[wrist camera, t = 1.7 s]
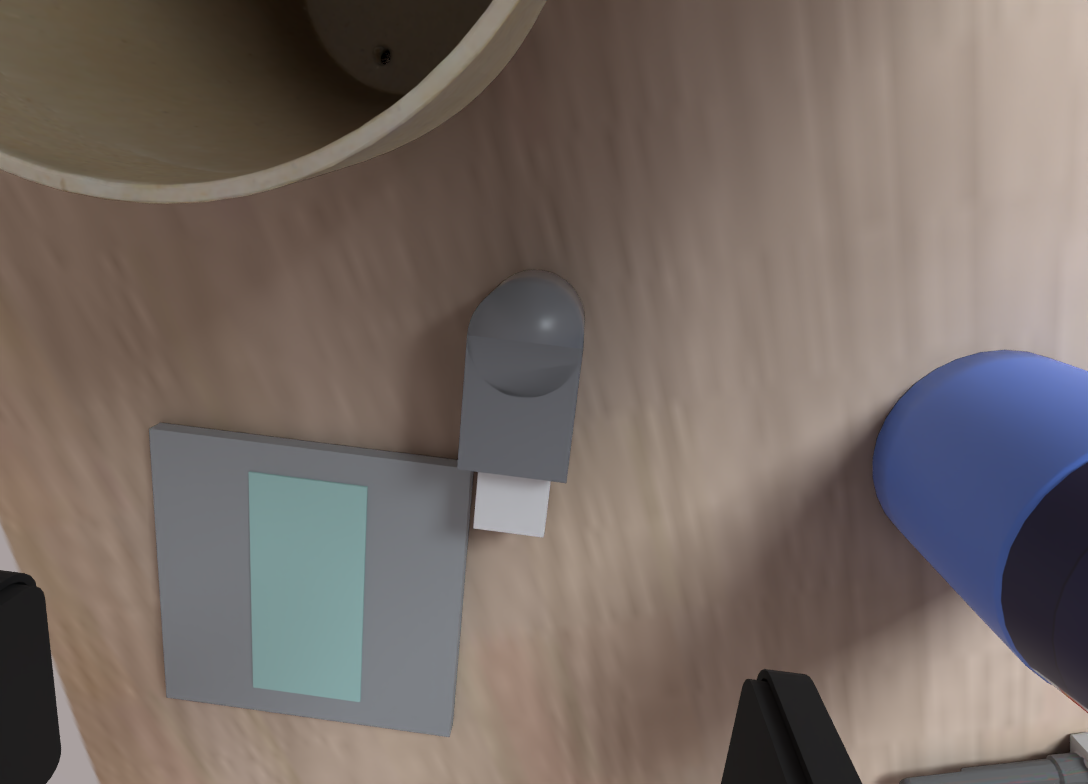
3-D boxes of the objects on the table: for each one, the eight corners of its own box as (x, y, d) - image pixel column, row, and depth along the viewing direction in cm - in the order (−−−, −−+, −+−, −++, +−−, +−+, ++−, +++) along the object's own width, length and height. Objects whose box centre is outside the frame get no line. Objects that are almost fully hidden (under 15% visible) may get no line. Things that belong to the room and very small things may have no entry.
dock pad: (474, 462, 29) (470, 470, 28) (452, 724, 33) (449, 738, 32) (160, 422, 29) (147, 429, 29) (176, 685, 33) (165, 698, 33)
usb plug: (490, 264, 27) (471, 276, 22) (590, 275, 26) (590, 290, 22) (471, 493, 29) (451, 542, 25) (562, 504, 29) (557, 556, 25)
